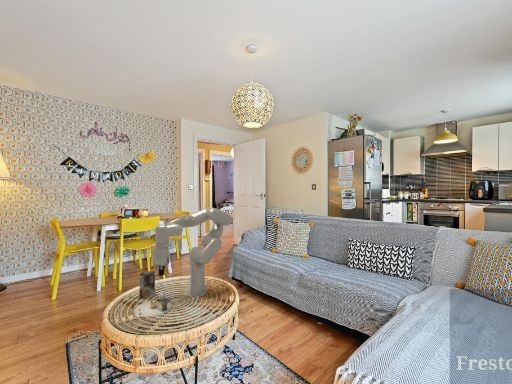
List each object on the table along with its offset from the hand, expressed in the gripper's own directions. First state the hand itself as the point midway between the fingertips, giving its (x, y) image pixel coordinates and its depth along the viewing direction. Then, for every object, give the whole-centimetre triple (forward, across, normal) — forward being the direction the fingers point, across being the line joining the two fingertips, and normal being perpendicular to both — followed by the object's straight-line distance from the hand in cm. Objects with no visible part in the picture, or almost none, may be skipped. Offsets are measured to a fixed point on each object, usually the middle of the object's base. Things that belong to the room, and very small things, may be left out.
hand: (161, 275), depth 150 cm
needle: (+17, +5, -5) cm, 18 cm away
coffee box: (+18, -16, +2) cm, 24 cm away
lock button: (+15, 0, 0) cm, 16 cm away
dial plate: (+18, +1, -6) cm, 19 cm away
